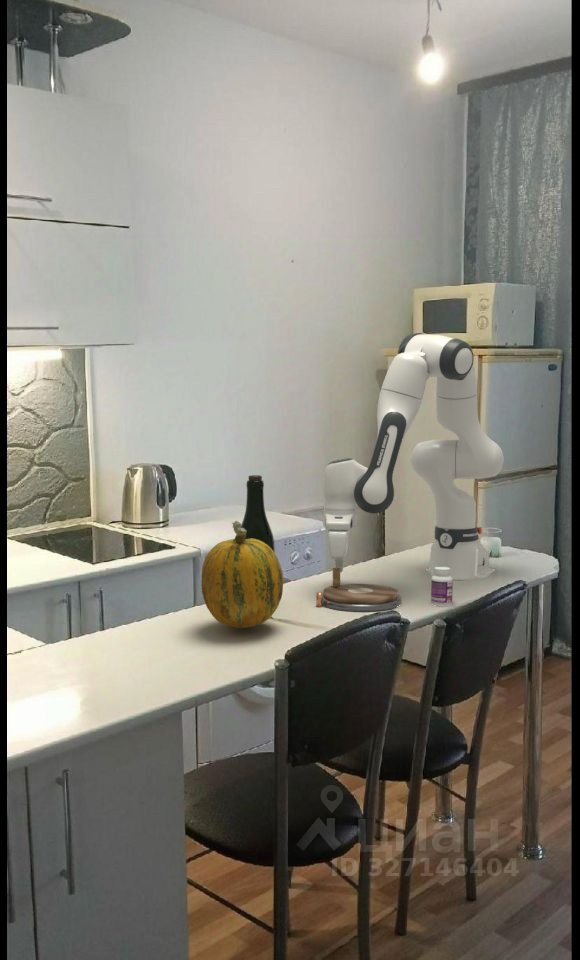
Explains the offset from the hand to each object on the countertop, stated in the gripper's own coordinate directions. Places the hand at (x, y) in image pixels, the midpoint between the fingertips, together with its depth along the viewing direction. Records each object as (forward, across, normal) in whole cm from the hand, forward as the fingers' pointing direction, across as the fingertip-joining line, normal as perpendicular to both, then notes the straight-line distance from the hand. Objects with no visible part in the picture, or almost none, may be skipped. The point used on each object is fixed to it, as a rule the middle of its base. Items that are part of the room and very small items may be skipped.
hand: (339, 571), depth 247 cm
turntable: (+5, +9, +6) cm, 12 cm away
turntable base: (+7, +9, +6) cm, 12 cm away
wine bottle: (+7, +14, -20) cm, 26 cm away
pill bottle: (+7, +10, +26) cm, 29 cm away
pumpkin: (+7, +35, -21) cm, 41 cm away
